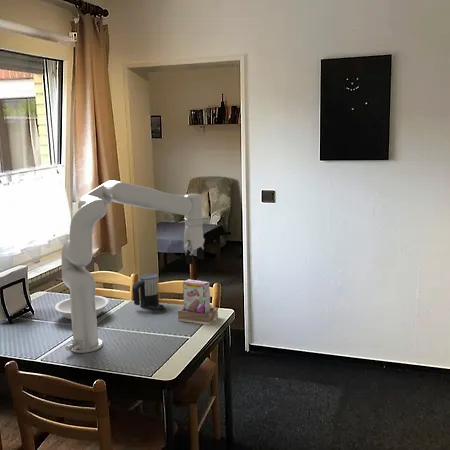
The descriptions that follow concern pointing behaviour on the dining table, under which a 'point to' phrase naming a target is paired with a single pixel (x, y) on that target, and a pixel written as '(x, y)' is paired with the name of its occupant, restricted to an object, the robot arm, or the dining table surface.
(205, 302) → the candy bar box
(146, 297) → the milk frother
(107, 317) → the dining table surface
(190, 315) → the open wooden box
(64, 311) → the soup bowl
